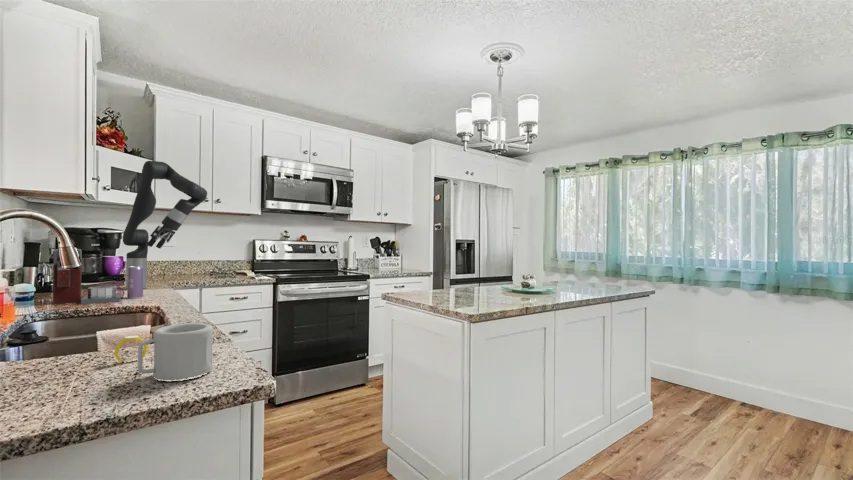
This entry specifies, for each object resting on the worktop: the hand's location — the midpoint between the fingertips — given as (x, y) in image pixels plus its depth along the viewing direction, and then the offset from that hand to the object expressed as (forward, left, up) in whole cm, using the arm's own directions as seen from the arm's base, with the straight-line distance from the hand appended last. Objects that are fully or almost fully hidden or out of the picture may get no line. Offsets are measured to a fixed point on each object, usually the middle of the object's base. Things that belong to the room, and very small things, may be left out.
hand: (153, 246), depth 190 cm
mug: (+133, +2, -25) cm, 135 cm away
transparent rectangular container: (0, -19, -24) cm, 31 cm away
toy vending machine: (0, -31, -25) cm, 39 cm away
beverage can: (-1, -7, -25) cm, 26 cm away
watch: (+116, -6, -25) cm, 119 cm away
